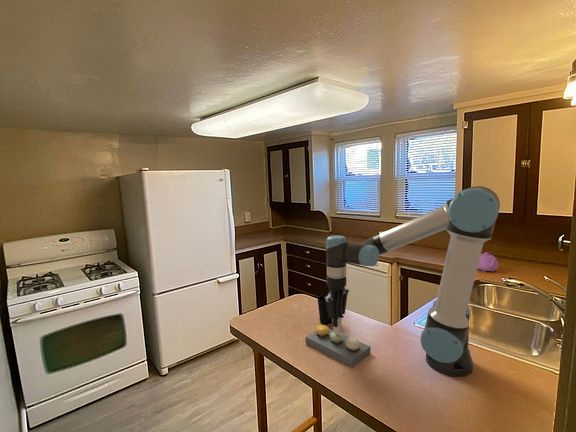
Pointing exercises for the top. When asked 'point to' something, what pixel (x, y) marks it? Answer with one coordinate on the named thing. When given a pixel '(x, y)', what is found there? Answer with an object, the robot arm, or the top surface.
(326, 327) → the button amber
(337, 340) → the button sage
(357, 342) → the button cream
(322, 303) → the cup
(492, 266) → the purple lumpy mound
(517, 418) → the top surface
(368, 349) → the panel
